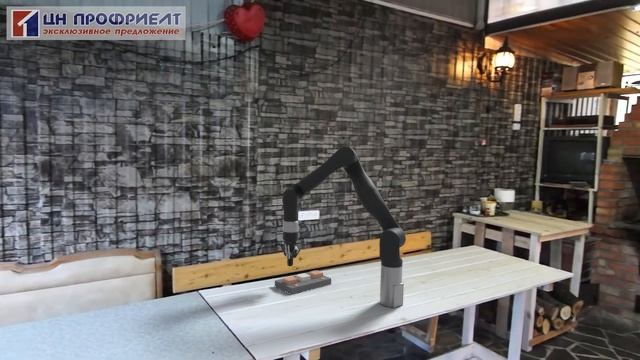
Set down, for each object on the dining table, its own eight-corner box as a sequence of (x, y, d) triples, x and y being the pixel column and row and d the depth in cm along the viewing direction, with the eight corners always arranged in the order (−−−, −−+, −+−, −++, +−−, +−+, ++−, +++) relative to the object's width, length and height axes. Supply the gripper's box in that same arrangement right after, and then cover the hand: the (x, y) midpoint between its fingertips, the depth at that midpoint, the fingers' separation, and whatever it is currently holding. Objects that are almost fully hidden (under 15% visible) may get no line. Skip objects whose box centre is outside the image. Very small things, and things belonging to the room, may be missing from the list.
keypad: (331, 284, 203) (331, 277, 203) (291, 294, 188) (291, 288, 188) (313, 277, 214) (313, 271, 214) (274, 286, 199) (274, 280, 199)
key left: (297, 285, 196) (297, 278, 195) (288, 287, 192) (288, 280, 192) (291, 282, 199) (291, 276, 199) (282, 284, 196) (282, 278, 196)
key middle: (310, 281, 201) (310, 275, 200) (302, 283, 198) (302, 277, 197) (304, 279, 205) (304, 273, 204) (296, 281, 201) (296, 275, 201)
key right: (323, 278, 206) (323, 272, 205) (315, 280, 203) (315, 274, 202) (316, 276, 210) (316, 270, 209) (309, 277, 206) (309, 272, 206)
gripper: (305, 231, 191) (304, 268, 193) (289, 226, 201) (288, 261, 203) (292, 233, 186) (291, 270, 188) (276, 228, 197) (275, 263, 198)
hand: (290, 265), depth 195 cm, fingers closed
